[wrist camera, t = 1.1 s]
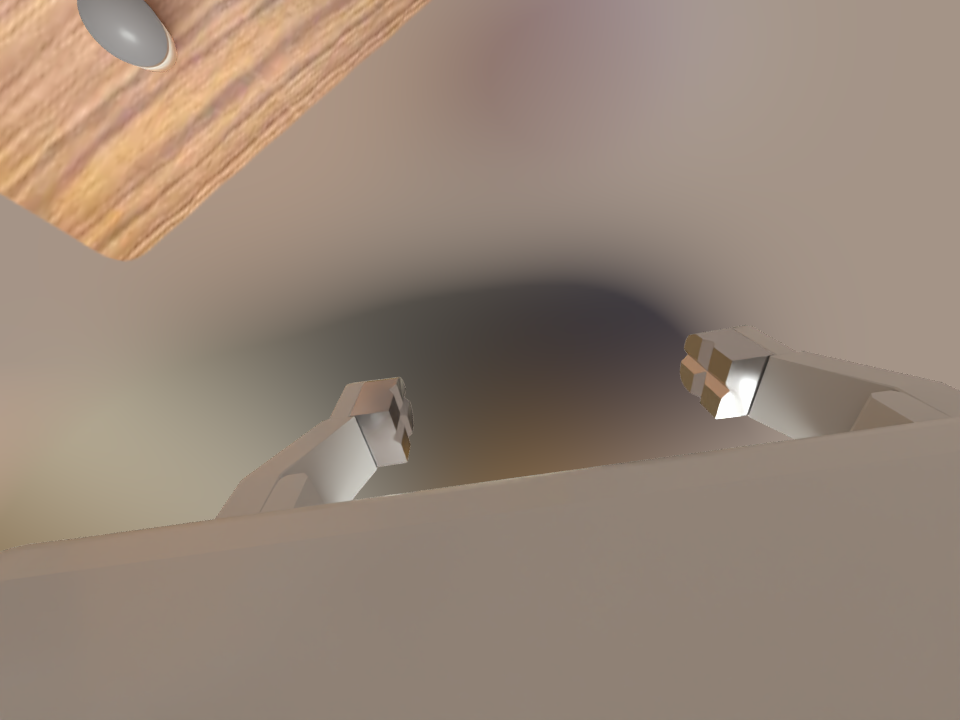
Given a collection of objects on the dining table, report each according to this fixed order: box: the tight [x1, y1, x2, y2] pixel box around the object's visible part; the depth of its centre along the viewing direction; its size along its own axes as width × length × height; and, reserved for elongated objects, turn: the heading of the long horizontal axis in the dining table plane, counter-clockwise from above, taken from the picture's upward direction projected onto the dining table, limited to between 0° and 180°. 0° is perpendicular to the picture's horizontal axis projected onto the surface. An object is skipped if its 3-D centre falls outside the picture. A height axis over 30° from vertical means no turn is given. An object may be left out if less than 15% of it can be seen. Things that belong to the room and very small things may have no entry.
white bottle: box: [77, 0, 177, 72], centre depth 27 cm, size 4×4×10 cm
